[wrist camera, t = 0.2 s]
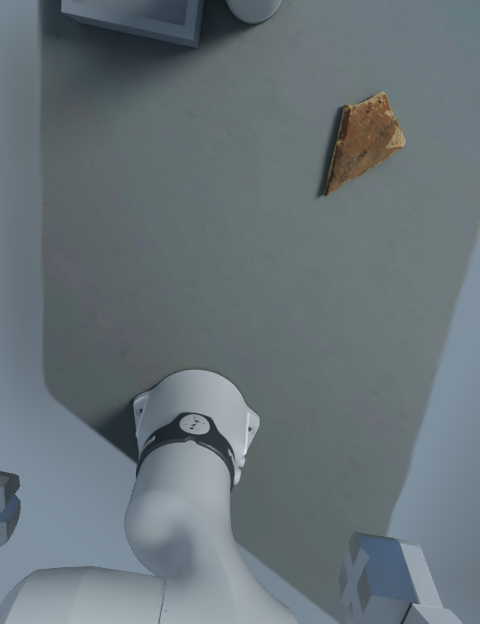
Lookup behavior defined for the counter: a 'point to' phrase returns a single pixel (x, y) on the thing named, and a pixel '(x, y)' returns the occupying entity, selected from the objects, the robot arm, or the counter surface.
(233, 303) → the counter surface
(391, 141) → the shard
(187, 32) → the box
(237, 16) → the travel mug
